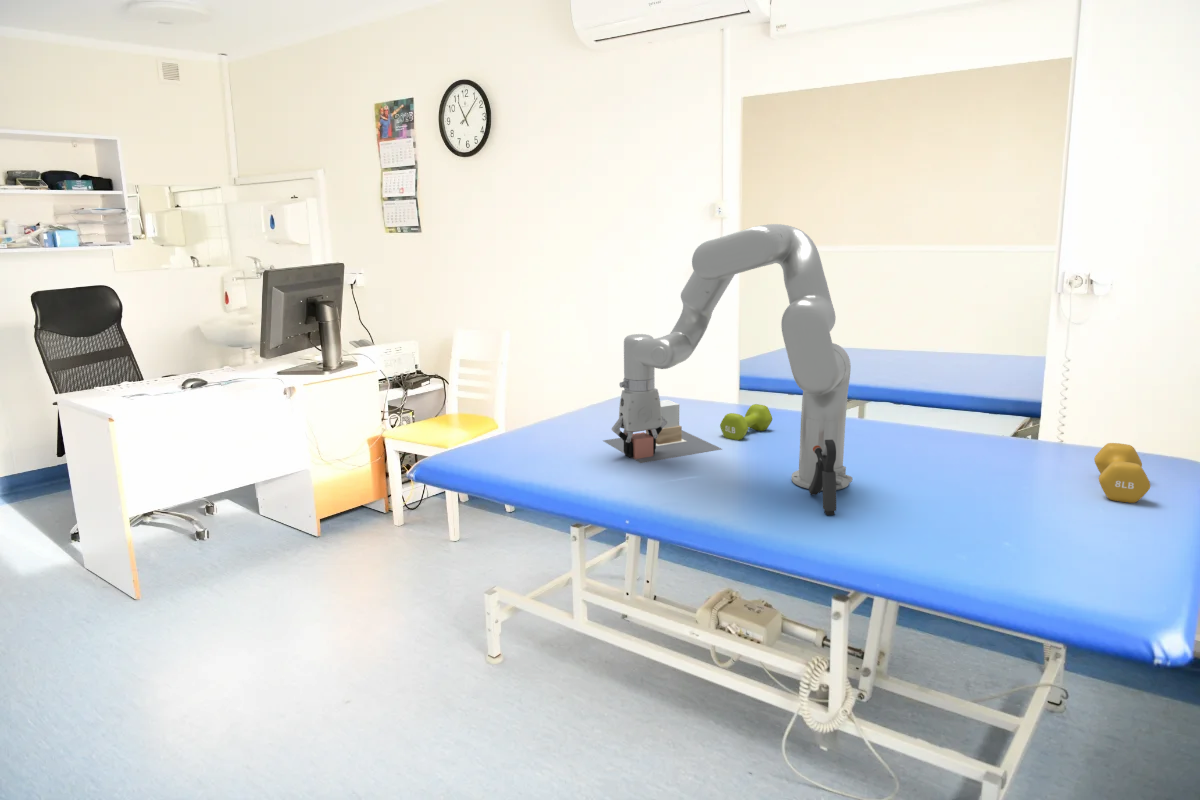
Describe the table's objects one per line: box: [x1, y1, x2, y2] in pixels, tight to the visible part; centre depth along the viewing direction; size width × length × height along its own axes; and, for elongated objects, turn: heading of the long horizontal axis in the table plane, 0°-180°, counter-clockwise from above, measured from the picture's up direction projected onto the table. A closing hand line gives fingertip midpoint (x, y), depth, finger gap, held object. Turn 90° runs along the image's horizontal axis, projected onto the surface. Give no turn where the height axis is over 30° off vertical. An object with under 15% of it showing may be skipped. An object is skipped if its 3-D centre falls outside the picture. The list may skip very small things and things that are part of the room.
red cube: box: [631, 431, 653, 459], centre depth 196 cm, size 5×5×5 cm
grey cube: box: [660, 399, 680, 429], centre depth 207 cm, size 6×6×6 cm
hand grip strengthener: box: [808, 440, 837, 516], centre depth 160 cm, size 2×12×15 cm, turn 2°
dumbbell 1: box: [719, 403, 773, 441], centre depth 213 cm, size 16×8×7 cm, turn 137°
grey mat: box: [602, 430, 723, 464], centre depth 204 cm, size 22×24×1 cm
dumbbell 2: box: [1093, 442, 1151, 504], centre depth 167 cm, size 19×9×8 cm, turn 151°
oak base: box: [645, 424, 683, 444], centre depth 209 cm, size 7×7×4 cm
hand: (639, 453), depth 196 cm, fingers open, 5 cm apart
